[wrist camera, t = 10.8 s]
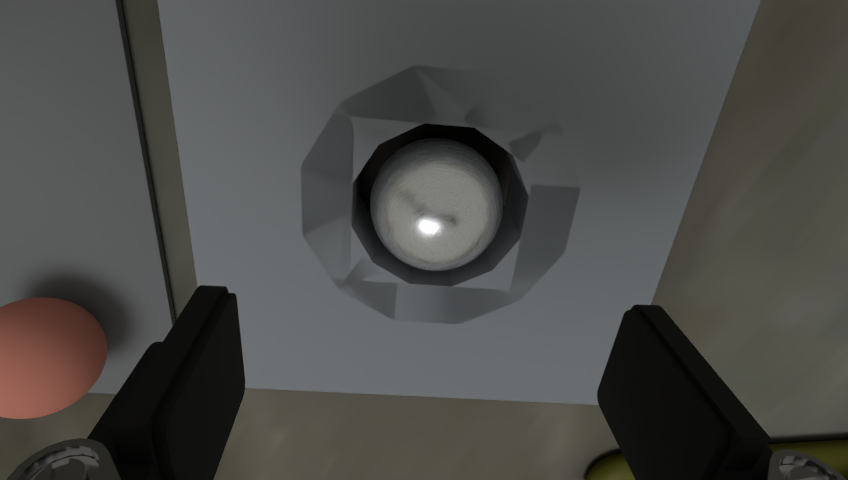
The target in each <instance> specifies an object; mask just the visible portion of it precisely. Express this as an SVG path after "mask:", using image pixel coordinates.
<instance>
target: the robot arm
mask: <svg viewBox="0 0 848 480" xmlns="http://www.w3.org/2000/svg"><path fill="white" fill-rule="evenodd" d="M244 391H245V373H244V363H243V353H242V344H241V334H240V325H239V315H238V305H237V297H236V294H235V293H229V292H228V289H227V287H226V286H207V285H200V286H199V287H198V288H197V289H196V291H195V292H194V294H193V295H192V297H191V298H190V300H189V302H188V303H187V305H186V306H185V308H184V309H183V311H182V312H181V314H180V316H179V317H178V319H177V320H176V322H175V323H174V325H173V327H172V328H171V330H170V331H169V333H168V334H167V336H166V337H165V339H164V341H163V342H154V343H152V344H151V345H150V346H149V347H148V348H147V350H146V351H145V353H144V354H143V356H142V357H141V359H140V360H139V362H138V363H137V365H136V366H135V368H134V369H133V371H132V372H131V374H130V375H129V377H128V378H127V380H126V381H125V383H124V384H123V386H122V387H121V389H120V390H119V392H118V393H117V395H116V396H115V397H114V399H113V400H112V402H111V403H110V405H109V406H108V408H107V409H106V411H105V412H104V414H103V415H102V417H101V418H100V420H99V421H98V423H97V424H96V426H95V427H94V429H93V430H92V432H91V433H90V435H89V436H88V438H87V439H82V438H78V439H72V440H65V441H62V442H59V443H56V444H53V445H50V446H48V447H46V448H44V449H42V450H40V451H38V452H36V453H35V454H33V455H31V456H30V457H29V458H28V459H26V460H25V461H24V462H22V463H21V464H20V465H19V466H18V467H17V468H16V469H15V470H14V471H13V472H12V474H11V475H10V476H9V477H8V479H7V480H213V479H214V476H215V473H216V470H217V468H218V465H219V462H220V459H221V457H222V454H223V451H224V448H225V446H226V443H227V440H228V437H229V435H230V432H231V429H232V426H233V423H234V421H235V418H236V415H237V412H238V410H239V407H240V404H241V401H242V399H243V395H244ZM597 400H598V404H599V406H600V408H601V410H602V412H603V415H604V417H605V419H606V421H607V423H608V425H609V427H610V429H611V431H612V433H613V435H614V437H615V439H616V441H617V443H618V445H619V447H620V449H621V451H622V453H623V455H624V457H625V459H626V462H627V464H628V466H629V468H630V470H631V472H632V474H633V476H634V478H635V480H846V479H845V478H844V477H843V476H842V475H841V474H840V473H839V472H838V471H836V470H835V469H834V468H832V467H831V466H830V465H828V464H826V463H825V462H823V461H821V460H819V459H818V458H816V457H814V456H811V455H809V454H806V453H803V452H800V451H795V450H790V449H786V450H778V451H777V452H775V453H774V452H773V451H772V450H771V449H770V447H769V446H768V445H767V444H768V442H769V440H770V439H771V438H770V437H769V436H768V435H767V433H766V432H765V431H764V430H763V429H762V427H761V426H760V425H759V424H758V423H757V421H756V420H755V419H754V418H753V417H752V415H751V414H750V413H749V412H748V411H747V409H746V408H745V407H744V406H743V404H742V403H741V402H740V401H739V400H738V398H737V397H736V396H735V395H734V394H733V392H732V391H731V390H730V389H729V388H728V386H727V385H726V384H725V383H724V382H723V380H722V379H721V378H720V377H719V376H718V374H717V373H716V372H715V371H714V370H713V368H712V367H711V366H710V365H709V364H708V362H707V361H706V360H705V359H704V358H703V356H702V355H701V354H700V353H699V352H698V350H697V349H696V348H695V347H694V346H693V344H692V343H691V342H690V341H689V339H688V338H687V337H686V336H685V335H684V333H683V332H682V331H681V330H680V329H679V327H678V326H677V325H676V324H675V323H674V321H673V320H672V319H671V318H670V317H669V315H668V314H667V313H666V312H665V311H664V309H663V308H662V307H660V306H658V305H638V304H636V305H634V306H633V307H632V308H631V310H627V311H626V312H625V313H624V315H623V318H622V321H621V324H620V327H619V329H618V332H617V335H616V338H615V341H614V344H613V347H612V350H611V353H610V355H609V358H608V361H607V364H606V367H605V370H604V373H603V376H602V379H601V382H600V384H599V387H598V391H597Z"/></svg>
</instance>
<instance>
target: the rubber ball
mask: <svg viewBox="0 0 848 480" xmlns="http://www.w3.org/2000/svg"><path fill="white" fill-rule="evenodd" d="M106 357H107V341H106V336H105V333H104V331H103V329H102V327H101V325H100V324H99V322H98V321H97V320H96V318H95V317H94V316H93V315H92V314H91V313H89V312H88V311H87V310H85V309H84V308H82V307H81V306H79V305H77V304H74V303H72V302H69V301H66V300H62V299H57V298H47V297H37V298H28V299H23V300H18V301H15V302H12V303H9V304H6V305H4V306H2V307H0V416H1V417H5V418H14V419H28V418H36V417H41V416H45V415H49V414H52V413H55V412H57V411H60V410H62V409H64V408H66V407H68V406H70V405H71V404H73V403H75V402H76V401H77V400H79V399H80V398H81V397H82V396H84V395H85V394H86V393H87V392H88V391H89V390H90V389H91V388H92V387H93V385H94V384H95V383H96V381H97V380H98V378H99V377H100V375H101V373H102V370H103V368H104V366H105V362H106Z"/></svg>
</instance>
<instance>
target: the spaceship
mask: <svg viewBox="0 0 848 480" xmlns="http://www.w3.org/2000/svg"><path fill="white" fill-rule="evenodd" d="M767 445H768V446H769V447H770V449H771V450H772V451H773V452H774V453H775V452H777V451H778V450H786V449H790V450H795V451H800V452H803V453H806V454H809V455H811V456H814V457H816V458H818V459H819V460H821V461H823V462H825V463H826V464H828V465H830V466H831V467H832V468H834V469H835V470H836V471H838V472H839V473H840V474H841V475H842V476H843V477H844V478H845V479H846V480H848V439H846V440H830V441H813V442H797V443H780V444H767ZM586 480H635V478H634V476H633V474H632V472H631V470H630V468H629V466H628V464H627V462H626V459H625V457H624V455H623V453H619V454H613V455H610V456H608V457H606V458H604V459H601V460H599V461H598V462H597V463H596V464H595V465H594V466H593V467H592V468H591V469H590V471H589V473H588V475H587V477H586Z"/></svg>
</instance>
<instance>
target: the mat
mask: <svg viewBox="0 0 848 480" xmlns="http://www.w3.org/2000/svg"><path fill="white" fill-rule="evenodd" d="M37 297H47V298H57V299H62V300H66V301H69V302H72V303H74V304H77V305H79V306H81V307H82V308H84V309H85V310H87V311H88V312H89V313H91V314H92V315H93V316H94V317H95V318H96V320H97V321H98V322H99V324H100V325H101V327H102V329H103V331H104V333H105V336H106V341H107V357H106V362H105V366H104V368H103V370H102V373H101V375H100V377H99V378H98V380H97V381H96V383H95V384H94V385H93V387H92V388H91V389H90V390H89V391H88V392H87V393H107V394H117V393H118V392H119V390H120V389H121V387H122V386H123V384H124V383H125V381H126V380H127V378H128V377H129V375H130V374H131V372H132V371H133V369H134V368H135V366H136V365H137V363H138V362H139V360H140V359H141V357H142V356H143V354H144V353H145V351H146V350H147V348H148V347H149V346H150V345H151V344H152V343H154V342H163V341H164V339H165V337H166V336H167V334H168V333H169V331H170V330H171V328H172V327H173V325H174V323H175V322H176V320H175V314H174V309H173V303H172V297H171V291H170V285H169V279H168V274H167V268H166V262H165V256H164V250H163V244H162V239H161V233H160V227H159V221H158V215H157V209H156V203H155V198H154V192H153V186H152V180H151V174H150V168H149V163H148V157H147V151H146V145H145V139H144V133H143V128H142V122H141V116H140V110H139V104H138V98H137V93H136V87H135V81H134V75H133V69H132V63H131V57H130V52H129V46H128V40H127V34H126V28H125V22H124V17H123V11H122V5H121V0H0V307H2V306H4V305H6V304H9V303H12V302H15V301H18V300H23V299H28V298H37Z"/></svg>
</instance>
